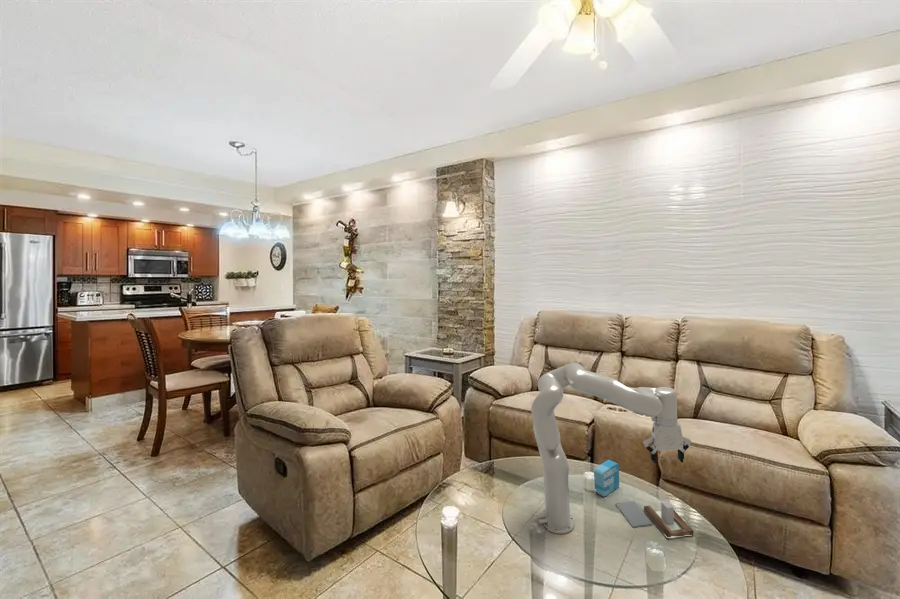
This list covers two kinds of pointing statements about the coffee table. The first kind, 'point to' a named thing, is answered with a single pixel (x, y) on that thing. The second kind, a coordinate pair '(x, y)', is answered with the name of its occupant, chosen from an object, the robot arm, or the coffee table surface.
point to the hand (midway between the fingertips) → (667, 461)
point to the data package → (606, 477)
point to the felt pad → (634, 514)
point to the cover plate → (668, 515)
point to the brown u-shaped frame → (664, 527)
